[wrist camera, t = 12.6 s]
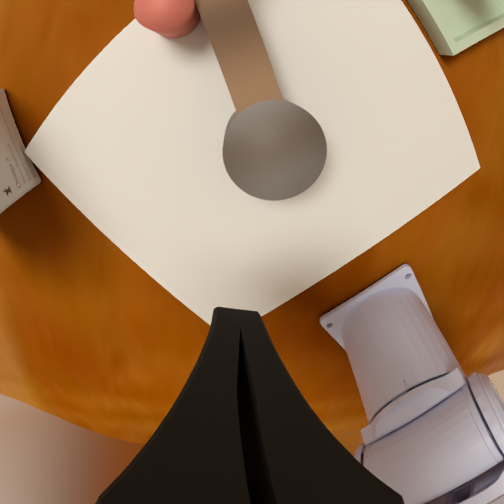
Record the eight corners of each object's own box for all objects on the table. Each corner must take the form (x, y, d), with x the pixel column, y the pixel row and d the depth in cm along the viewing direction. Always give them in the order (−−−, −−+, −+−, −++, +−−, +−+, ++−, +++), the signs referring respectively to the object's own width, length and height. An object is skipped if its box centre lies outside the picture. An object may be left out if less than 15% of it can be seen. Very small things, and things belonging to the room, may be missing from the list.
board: (473, 163, 17) (480, 167, 16) (225, 329, 24) (225, 337, 23) (317, -86, 8) (320, -92, 8) (30, 148, 15) (24, 152, 14)
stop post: (210, 17, 12) (204, 3, 9) (172, 47, 12) (157, 41, 10) (180, -13, 11) (168, -31, 8) (143, 17, 11) (122, 6, 9)
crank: (320, 165, 16) (343, 192, 13) (241, 189, 16) (242, 223, 13) (242, -61, 9) (244, -94, 6) (155, -34, 10) (133, -60, 6)
